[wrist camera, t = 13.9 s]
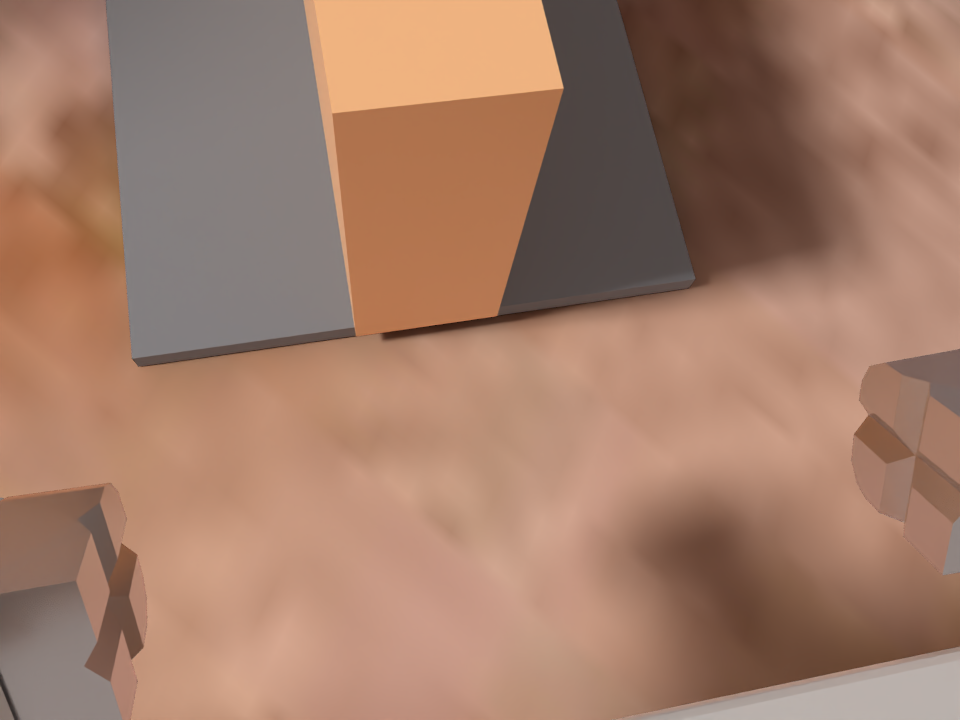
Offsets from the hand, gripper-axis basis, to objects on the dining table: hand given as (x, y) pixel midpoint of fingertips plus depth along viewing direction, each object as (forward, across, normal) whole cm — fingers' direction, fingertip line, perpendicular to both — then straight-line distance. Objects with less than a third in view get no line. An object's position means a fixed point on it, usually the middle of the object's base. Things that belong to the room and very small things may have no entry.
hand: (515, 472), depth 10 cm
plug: (+14, 0, -2) cm, 14 cm away
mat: (+14, 0, -2) cm, 14 cm away
